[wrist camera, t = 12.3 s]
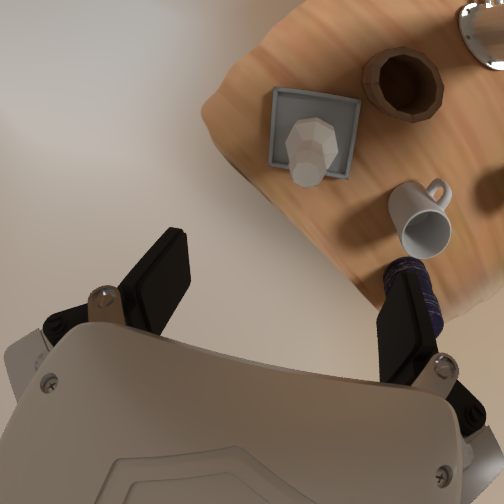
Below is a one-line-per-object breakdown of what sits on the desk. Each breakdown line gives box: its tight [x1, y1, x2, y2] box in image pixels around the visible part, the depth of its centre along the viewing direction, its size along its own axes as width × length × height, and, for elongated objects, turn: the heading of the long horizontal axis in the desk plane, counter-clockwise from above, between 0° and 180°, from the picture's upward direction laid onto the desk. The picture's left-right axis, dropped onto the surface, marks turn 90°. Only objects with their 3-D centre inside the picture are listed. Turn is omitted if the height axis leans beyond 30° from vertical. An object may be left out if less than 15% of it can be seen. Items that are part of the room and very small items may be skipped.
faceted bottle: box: [285, 117, 338, 188], centre depth 31 cm, size 6×6×22 cm
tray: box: [268, 87, 361, 180], centre depth 40 cm, size 13×13×2 cm
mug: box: [388, 178, 452, 259], centre depth 38 cm, size 12×8×11 cm
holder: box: [361, 47, 444, 123], centre depth 29 cm, size 10×10×9 cm
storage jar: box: [383, 257, 444, 339], centre depth 45 cm, size 10×10×15 cm
